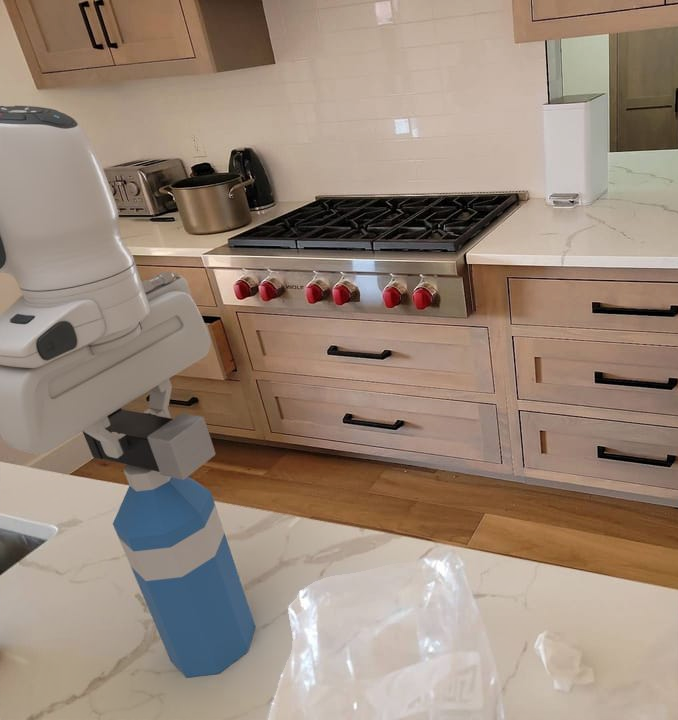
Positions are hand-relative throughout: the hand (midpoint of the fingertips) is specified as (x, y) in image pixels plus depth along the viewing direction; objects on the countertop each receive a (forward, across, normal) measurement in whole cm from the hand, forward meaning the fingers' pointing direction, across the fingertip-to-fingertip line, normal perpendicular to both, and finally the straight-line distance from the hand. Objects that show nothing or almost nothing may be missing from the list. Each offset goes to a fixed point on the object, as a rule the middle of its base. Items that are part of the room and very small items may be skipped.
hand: (140, 439), depth 65 cm
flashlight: (+2, 0, +1) cm, 2 cm away
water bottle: (+28, 0, 0) cm, 28 cm away
